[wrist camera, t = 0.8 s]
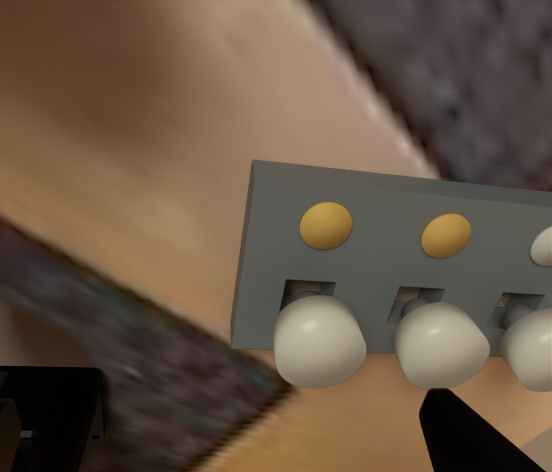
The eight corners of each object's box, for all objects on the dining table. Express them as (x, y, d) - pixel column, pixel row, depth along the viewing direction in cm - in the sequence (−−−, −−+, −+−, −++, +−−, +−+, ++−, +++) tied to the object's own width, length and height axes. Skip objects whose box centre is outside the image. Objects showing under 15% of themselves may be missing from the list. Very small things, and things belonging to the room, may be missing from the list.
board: (520, 334, 28) (541, 360, 26) (230, 322, 25) (231, 351, 23) (602, 197, 23) (636, 217, 21) (252, 159, 20) (255, 178, 18)
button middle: (438, 339, 24) (469, 390, 21) (371, 336, 23) (393, 389, 20) (465, 282, 22) (504, 330, 19) (393, 277, 21) (421, 326, 18)
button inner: (336, 335, 23) (353, 389, 20) (263, 332, 22) (269, 387, 19) (354, 275, 21) (377, 325, 18) (274, 270, 20) (284, 321, 17)
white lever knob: (532, 342, 25) (574, 392, 22) (471, 340, 24) (505, 391, 21) (566, 288, 23) (618, 335, 20) (500, 284, 22) (543, 332, 19)
